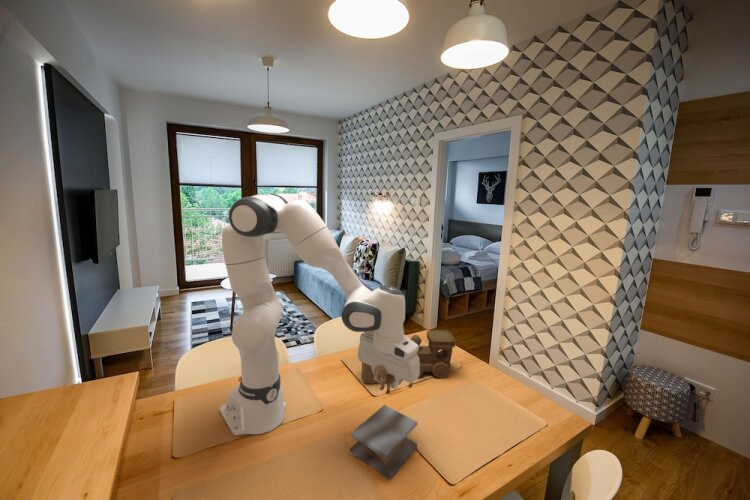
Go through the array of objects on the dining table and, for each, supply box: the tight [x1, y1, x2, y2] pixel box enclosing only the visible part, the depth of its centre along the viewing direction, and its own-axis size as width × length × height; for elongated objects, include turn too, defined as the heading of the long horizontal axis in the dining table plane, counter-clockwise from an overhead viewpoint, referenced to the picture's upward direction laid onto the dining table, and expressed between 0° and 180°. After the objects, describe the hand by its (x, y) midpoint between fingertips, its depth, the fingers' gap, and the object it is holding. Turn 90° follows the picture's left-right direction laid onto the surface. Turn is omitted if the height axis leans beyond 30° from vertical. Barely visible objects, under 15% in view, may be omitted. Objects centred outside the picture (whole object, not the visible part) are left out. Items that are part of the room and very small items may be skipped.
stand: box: [349, 404, 418, 481], centre depth 93 cm, size 14×16×8 cm
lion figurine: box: [375, 366, 413, 395], centre depth 98 cm, size 15×5×9 cm, turn 126°
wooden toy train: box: [410, 329, 456, 379], centre depth 135 cm, size 20×11×17 cm, turn 93°
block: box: [361, 331, 378, 384], centre depth 128 cm, size 11×8×20 cm
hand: (385, 383), depth 97 cm, fingers closed on lion figurine, 5 cm apart
